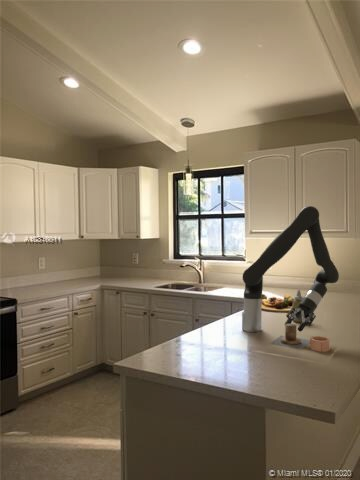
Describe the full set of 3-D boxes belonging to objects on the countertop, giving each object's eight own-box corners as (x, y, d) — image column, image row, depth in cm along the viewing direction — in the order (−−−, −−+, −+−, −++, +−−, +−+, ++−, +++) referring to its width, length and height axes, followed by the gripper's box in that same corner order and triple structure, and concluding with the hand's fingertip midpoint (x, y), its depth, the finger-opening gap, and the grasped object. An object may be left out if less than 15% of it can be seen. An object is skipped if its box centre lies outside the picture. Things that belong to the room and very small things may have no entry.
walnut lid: (278, 342, 187) (278, 325, 187) (284, 338, 195) (284, 321, 195) (297, 346, 183) (297, 328, 182) (303, 341, 190) (303, 324, 190)
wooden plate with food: (243, 305, 277) (243, 293, 277) (280, 300, 291) (281, 289, 290) (273, 316, 248) (273, 302, 248) (312, 310, 262) (313, 298, 261)
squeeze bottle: (305, 320, 234) (306, 289, 233) (306, 323, 226) (306, 291, 225) (291, 319, 236) (291, 288, 235) (291, 322, 228) (291, 290, 227)
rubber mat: (269, 345, 186) (269, 343, 186) (280, 336, 200) (280, 335, 200) (302, 350, 178) (302, 349, 178) (311, 341, 192) (311, 340, 192)
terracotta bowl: (308, 350, 178) (308, 339, 177) (313, 346, 184) (313, 335, 184) (327, 353, 173) (327, 342, 173) (331, 349, 180) (331, 337, 180)
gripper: (295, 294, 199) (277, 320, 194) (317, 299, 186) (299, 326, 181) (303, 304, 201) (286, 329, 197) (326, 309, 189) (307, 336, 184)
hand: (292, 328), depth 189 cm, fingers open, 8 cm apart
